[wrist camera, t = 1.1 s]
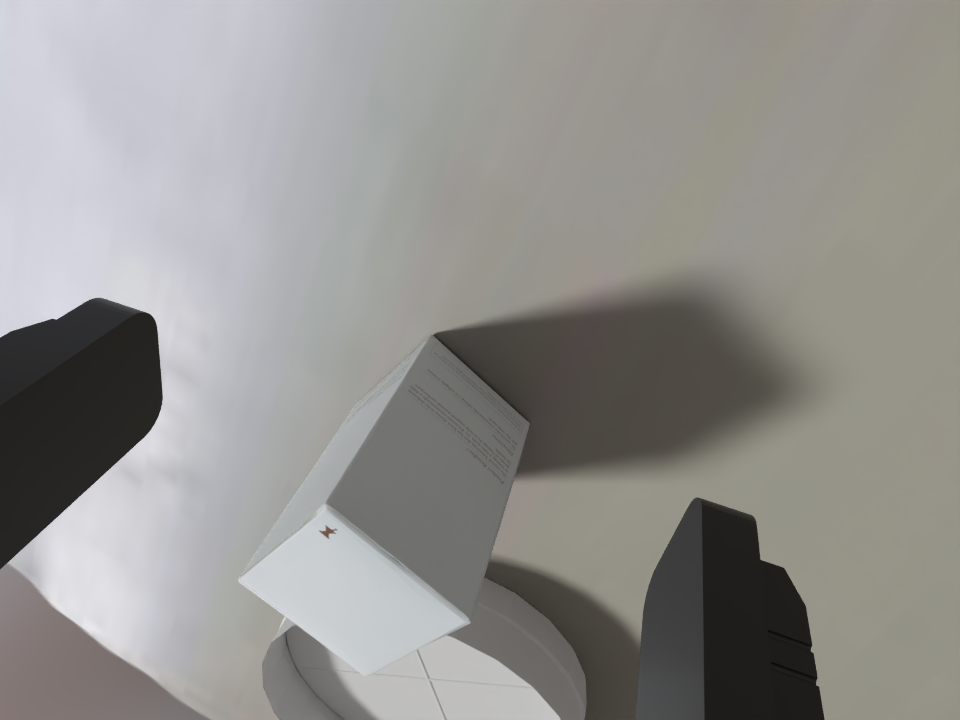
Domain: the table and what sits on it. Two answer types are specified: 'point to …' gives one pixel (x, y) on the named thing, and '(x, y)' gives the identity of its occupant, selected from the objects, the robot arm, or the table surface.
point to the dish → (437, 672)
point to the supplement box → (396, 515)
